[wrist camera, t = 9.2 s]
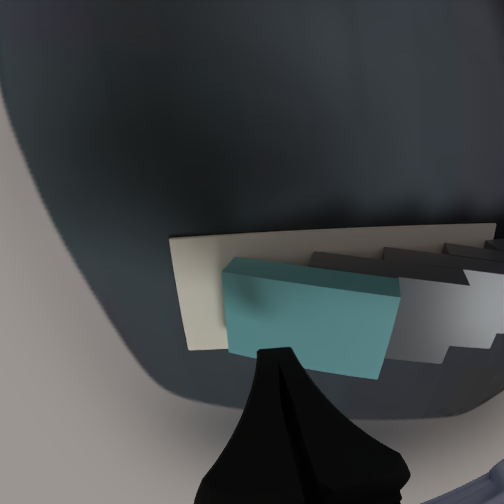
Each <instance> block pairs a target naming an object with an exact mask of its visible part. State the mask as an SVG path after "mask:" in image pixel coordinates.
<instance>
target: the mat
mask: <svg viewBox="0 0 504 504" xmlns="http://www.w3.org/2000/svg"><path fill="white" fill-rule="evenodd" d="M496 225H497V224H496V223H475V224H438V225H408V226H381V227H357V228H334V229H313V230H293V231H274V232H256V233H239V234H223V235H207V236H191V237H176V238H169V243H170V250H171V256H172V263H173V269H174V275H175V281H176V287H177V293H178V298H179V304H180V309H181V314H182V320H183V325H184V330H185V335H186V340H187V345H188V350H208V349H228V339H227V329H226V319H225V308H224V297H223V285H222V274H221V272H222V271H223V269H224V268H225V267H226V266H227V265H228V264H229V263H230V262H231V260H232V259H233V258H234V257H240V258H247V259H255V260H262V261H269V262H277V263H284V264H292V265H299V266H306V267H308V265H309V262H310V260H311V258H312V255H313V253H314V251H315V252H324V253H332V254H340V255H348V256H357V257H365V258H373V259H381V260H382V256H383V250H384V247H390V248H398V249H406V250H414V251H422V252H430V253H438V254H442V251H443V246H444V243H450V244H457V245H464V246H471V247H478V248H484V244H485V240H493V238H494V234H495V229H496Z"/></svg>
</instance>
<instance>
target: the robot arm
mask: <svg viewBox="0 0 504 504" xmlns="http://www.w3.org/2000/svg"><path fill="white" fill-rule="evenodd" d="M256 352H257V363H256V370H255V376H254V380H253V384H252V388H251V391H250V394H249V397H248V400H247V403H246V406H245V409H244V411H243V414H242V416H241V418H240V421H239V423H238V425H237V427H236V429H235V431H234V433H233V435H232V437H231V438H230V440H229V442H228V444H227V445H226V447H225V448H224V450H223V452H222V453H221V455H220V456H219V458H218V459H217V461H216V462H215V464H214V465H213V466H212V468H211V469H210V470H209V471H208V473H207V474H206V475H205V476H204V478H203V479H202V481H201V484H200V486H199V489H198V491H197V494H196V497H195V501H194V504H401V503H400V501H401V499H402V496H401V494H400V490H401V489H402V487H403V486H404V485H405V484H406V483H407V482H408V480H409V478H410V471H409V469H408V466H407V465H406V463H405V461H404V459H403V458H402V456H401V455H400V453H398V452H396V451H394V450H392V449H391V448H389V447H387V446H385V445H383V444H382V443H380V442H379V441H377V440H376V439H374V438H372V437H371V436H369V435H368V434H366V433H365V432H364V431H363V430H361V429H360V428H359V427H357V426H356V425H355V424H353V423H352V422H351V421H350V420H349V419H348V418H346V417H345V416H344V415H343V414H342V413H341V412H340V411H339V410H338V409H337V408H336V407H335V406H334V405H333V404H332V403H331V402H330V401H329V400H328V399H327V398H326V397H325V395H324V394H323V393H322V392H321V391H320V390H319V388H318V387H317V386H316V385H315V383H314V382H313V381H312V379H311V378H310V377H309V375H308V374H307V372H306V371H305V369H304V368H303V366H302V365H301V363H300V362H299V360H298V358H297V357H296V355H295V353H294V351H293V349H292V348H291V347H279V348H267V349H259V350H258V351H256ZM421 504H504V459H503V460H501V461H500V462H498V463H497V464H496V465H495V466H494V467H493V468H492V469H491V470H490V471H489V473H486V474H485V475H483V476H481V477H479V478H477V479H475V480H473V481H471V482H469V483H467V484H465V485H463V486H461V487H459V488H456V489H454V490H452V491H450V492H448V493H445V494H443V495H441V496H438V497H436V498H434V499H431V500H429V501H426V502H424V503H421Z"/></svg>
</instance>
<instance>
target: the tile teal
mask: <svg viewBox="0 0 504 504" xmlns="http://www.w3.org/2000/svg"><path fill="white" fill-rule="evenodd" d="M221 274H222V285H223V297H224V308H225V319H226V329H227V339H228V349H229V352H230V353H234V354H238V355H243V356H247V357H252V358H256V359H257V352H256V351H258V350H259V349H267V348H279V347H291V348H292V349H293V351H294V353H295V355H296V357H297V358H298V360H299V362H300V363H301V365H302V366H303V368H306V369H311V370H317V371H323V372H329V373H335V374H342V375H348V376H355V377H362V378H370V379H378V376H379V373H380V370H381V367H382V364H383V361H384V357H385V354H386V351H387V347H388V344H389V340H390V337H391V333H392V330H393V326H394V322H395V318H396V315H397V311H398V307H399V302H400V298H401V295H400V284H399V279H398V278H390V277H383V276H375V275H367V274H359V273H352V272H344V271H336V270H329V269H321V268H314V267H306V266H299V265H292V264H284V263H277V262H269V261H262V260H255V259H247V258H240V257H234V258H233V259H232V260H231V262H230V263H229V264H228V265H227V266H226V267H225V268H224V269H223V271H222V272H221Z"/></svg>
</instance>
